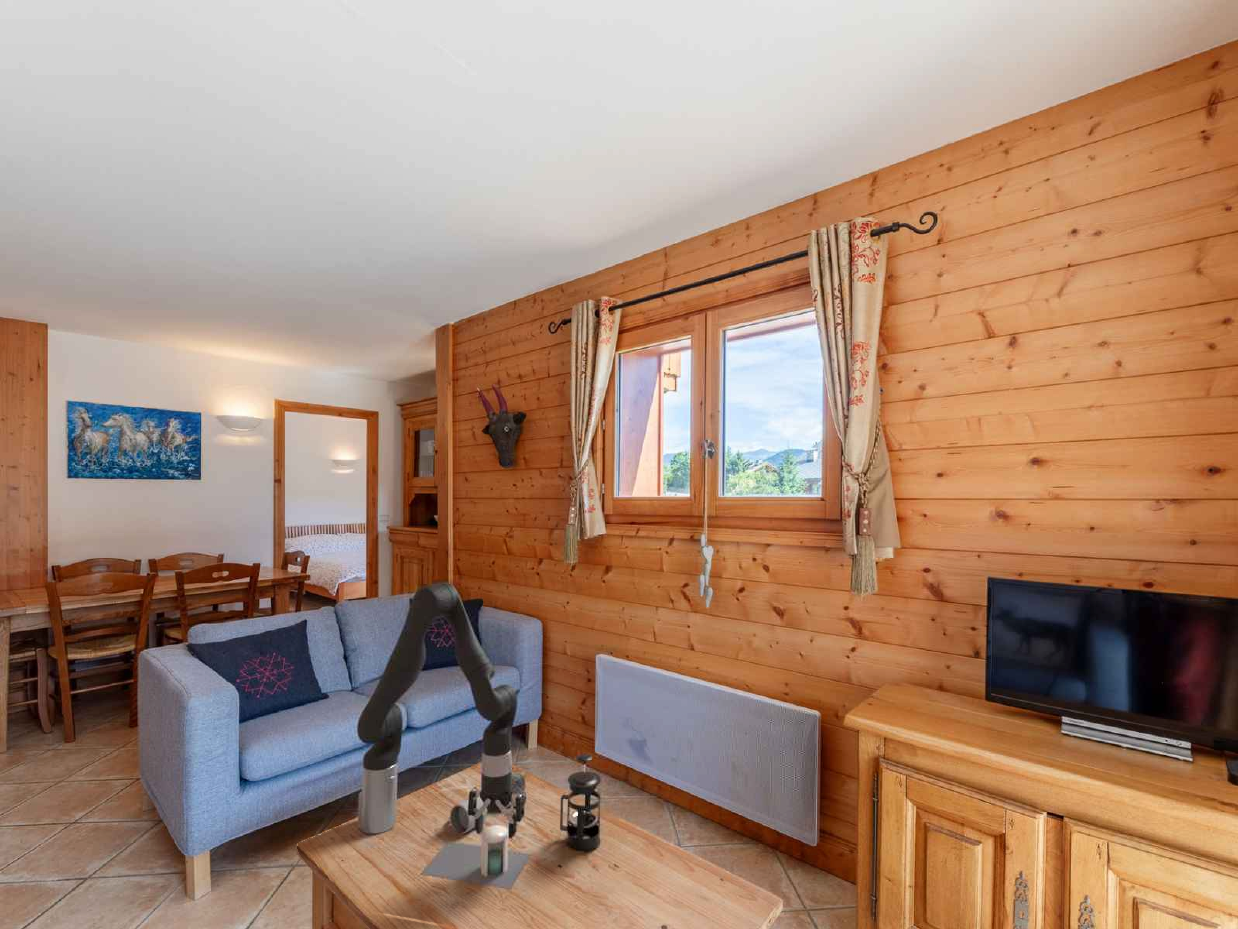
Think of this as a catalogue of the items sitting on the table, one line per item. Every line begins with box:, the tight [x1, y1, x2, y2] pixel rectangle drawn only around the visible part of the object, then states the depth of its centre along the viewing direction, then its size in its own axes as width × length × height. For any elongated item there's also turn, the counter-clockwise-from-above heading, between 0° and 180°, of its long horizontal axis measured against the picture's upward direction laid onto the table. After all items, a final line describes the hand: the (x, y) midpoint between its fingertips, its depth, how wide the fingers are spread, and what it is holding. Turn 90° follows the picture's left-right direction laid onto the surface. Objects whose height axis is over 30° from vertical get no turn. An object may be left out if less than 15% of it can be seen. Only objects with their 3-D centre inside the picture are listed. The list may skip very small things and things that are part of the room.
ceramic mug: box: [448, 796, 488, 835], centre depth 170 cm, size 11×8×8 cm
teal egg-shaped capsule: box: [487, 850, 503, 874], centre depth 150 cm, size 4×4×4 cm
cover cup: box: [480, 824, 509, 877], centre depth 150 cm, size 6×6×9 cm
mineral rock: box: [506, 770, 527, 808], centre depth 182 cm, size 13×11×10 cm
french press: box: [559, 753, 602, 853], centre depth 163 cm, size 12×9×23 cm
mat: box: [419, 840, 532, 890], centre depth 152 cm, size 24×14×1 cm, turn 78°
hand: (495, 834), depth 150 cm, fingers open, 8 cm apart
